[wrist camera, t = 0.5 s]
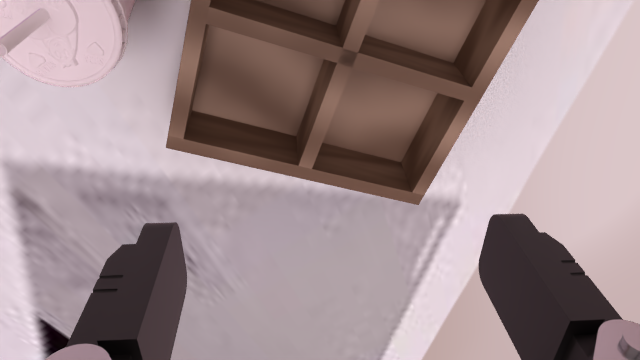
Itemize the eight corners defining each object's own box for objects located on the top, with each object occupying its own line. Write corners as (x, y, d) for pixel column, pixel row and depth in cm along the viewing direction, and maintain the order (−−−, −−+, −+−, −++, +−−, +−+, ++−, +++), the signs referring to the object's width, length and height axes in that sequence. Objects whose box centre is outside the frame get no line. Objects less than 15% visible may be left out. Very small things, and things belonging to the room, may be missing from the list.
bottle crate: (233, -192, 25) (225, -197, 21) (529, -68, 30) (569, -52, 26) (178, 111, 35) (165, 147, 31) (404, 167, 40) (418, 204, 36)
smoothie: (140, -94, 27) (45, -40, 16) (176, 16, 31) (121, 120, 20) (34, -74, 27) (-133, -8, 16) (83, 32, 31) (-24, 145, 20)
